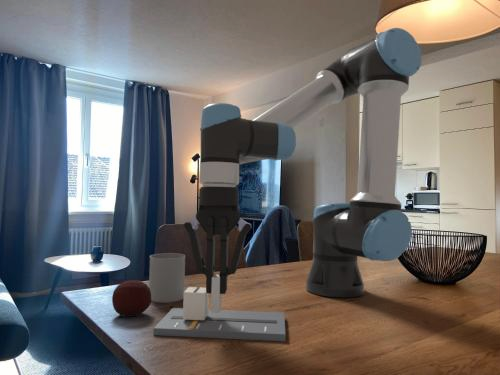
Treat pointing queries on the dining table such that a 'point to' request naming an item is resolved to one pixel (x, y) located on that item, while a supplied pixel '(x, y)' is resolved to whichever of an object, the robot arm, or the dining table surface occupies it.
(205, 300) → the fader
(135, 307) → the potato
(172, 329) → the console
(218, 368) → the dining table surface
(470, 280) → the dining table surface
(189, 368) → the dining table surface
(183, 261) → the cup
